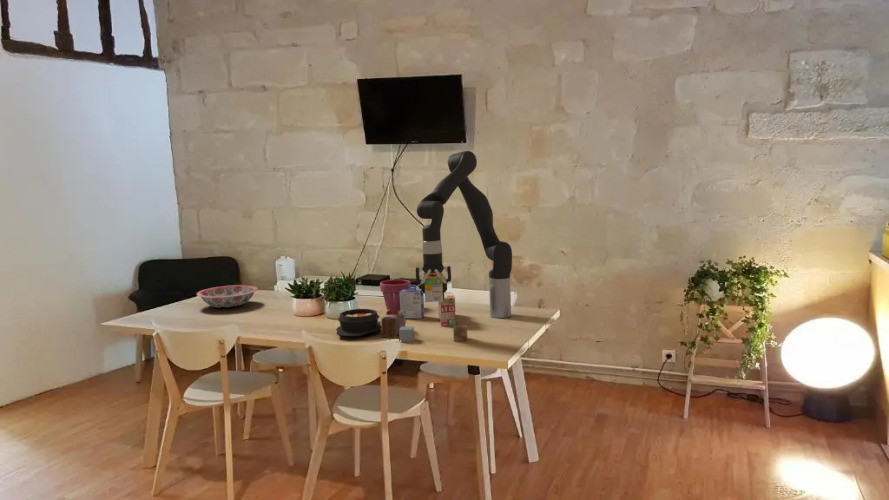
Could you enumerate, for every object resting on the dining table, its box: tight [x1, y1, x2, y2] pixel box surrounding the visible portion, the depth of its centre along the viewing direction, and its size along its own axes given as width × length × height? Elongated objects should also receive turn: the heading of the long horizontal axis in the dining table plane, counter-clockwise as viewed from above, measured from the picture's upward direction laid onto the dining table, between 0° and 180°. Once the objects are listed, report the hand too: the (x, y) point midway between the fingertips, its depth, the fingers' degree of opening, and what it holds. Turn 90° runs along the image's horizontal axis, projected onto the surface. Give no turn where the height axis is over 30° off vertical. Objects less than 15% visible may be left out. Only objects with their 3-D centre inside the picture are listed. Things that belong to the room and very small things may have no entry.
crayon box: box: [423, 272, 444, 303], centre depth 272 cm, size 7×3×12 cm, turn 79°
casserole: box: [335, 308, 381, 337], centre depth 283 cm, size 25×19×8 cm
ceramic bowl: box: [196, 284, 259, 308], centre depth 342 cm, size 29×29×8 cm
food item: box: [380, 310, 407, 338], centre depth 279 cm, size 14×8×10 cm, turn 170°
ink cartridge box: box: [399, 284, 425, 319], centre depth 305 cm, size 10×6×14 cm, turn 78°
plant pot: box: [379, 279, 412, 311], centre depth 324 cm, size 14×14×13 cm
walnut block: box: [453, 325, 468, 342], centre depth 267 cm, size 5×5×5 cm
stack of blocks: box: [437, 291, 457, 327], centre depth 298 cm, size 21×6×12 cm, turn 4°
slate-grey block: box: [398, 325, 415, 343], centre depth 268 cm, size 5×5×5 cm
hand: (434, 292), depth 272 cm, fingers closed on crayon box, 7 cm apart
